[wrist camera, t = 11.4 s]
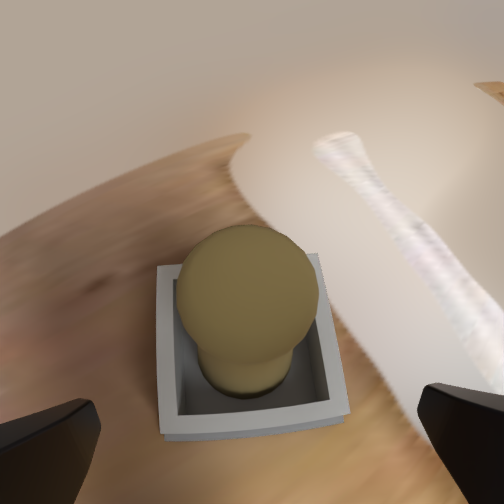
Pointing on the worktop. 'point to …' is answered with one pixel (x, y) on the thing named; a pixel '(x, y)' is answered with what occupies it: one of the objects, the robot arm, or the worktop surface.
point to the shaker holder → (248, 410)
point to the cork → (246, 307)
